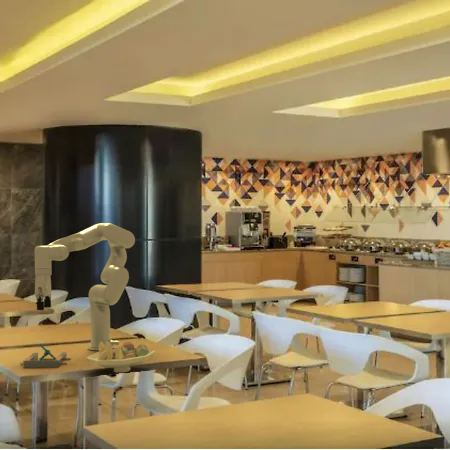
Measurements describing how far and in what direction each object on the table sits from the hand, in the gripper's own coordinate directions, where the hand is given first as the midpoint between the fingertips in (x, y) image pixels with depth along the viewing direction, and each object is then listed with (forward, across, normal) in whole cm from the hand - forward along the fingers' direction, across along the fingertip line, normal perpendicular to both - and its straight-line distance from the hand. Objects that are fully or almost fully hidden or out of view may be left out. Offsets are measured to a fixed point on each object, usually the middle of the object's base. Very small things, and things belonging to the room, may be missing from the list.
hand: (44, 308), depth 351 cm
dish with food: (+23, +32, +44) cm, 59 cm away
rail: (+22, +14, +6) cm, 27 cm away
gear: (+23, +9, +4) cm, 25 cm away
